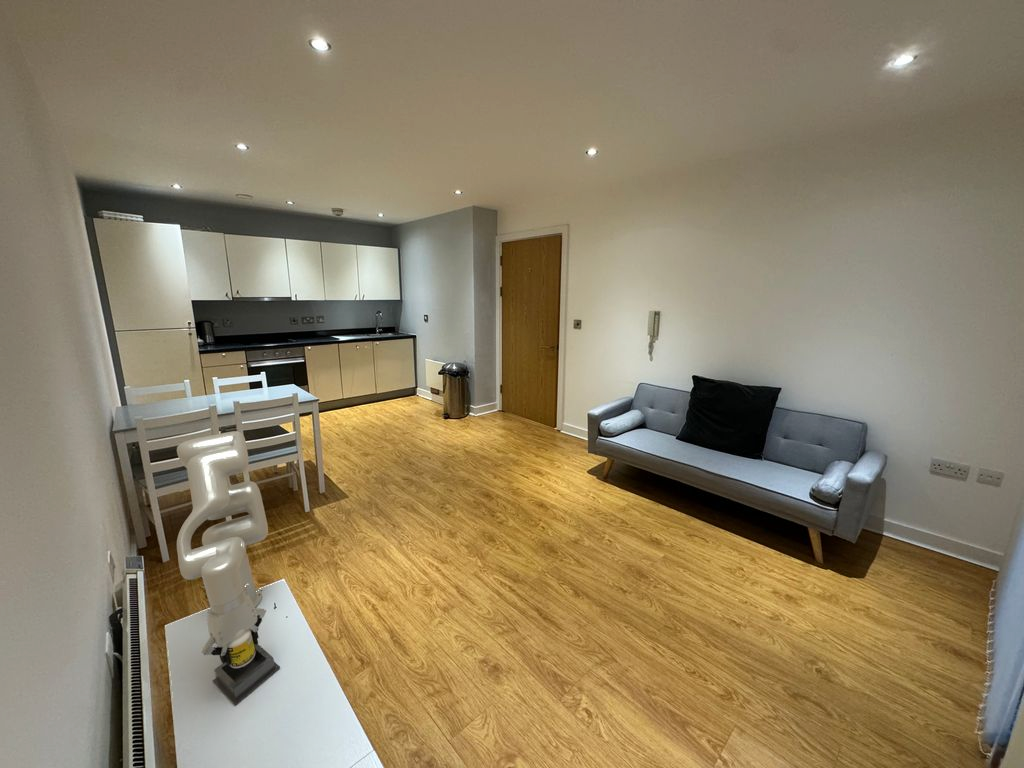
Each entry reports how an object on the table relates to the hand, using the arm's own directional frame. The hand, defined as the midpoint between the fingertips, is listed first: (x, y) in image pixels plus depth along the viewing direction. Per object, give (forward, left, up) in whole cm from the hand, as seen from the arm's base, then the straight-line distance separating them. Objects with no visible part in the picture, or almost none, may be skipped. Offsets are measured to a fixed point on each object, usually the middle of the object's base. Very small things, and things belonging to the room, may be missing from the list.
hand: (241, 651), depth 111 cm
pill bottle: (0, 0, -3) cm, 3 cm away
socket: (0, 0, -9) cm, 9 cm away
